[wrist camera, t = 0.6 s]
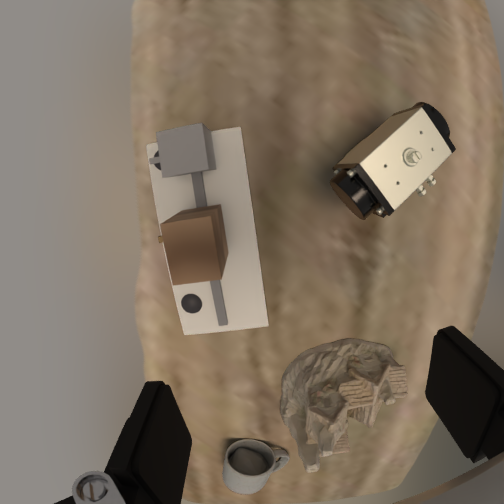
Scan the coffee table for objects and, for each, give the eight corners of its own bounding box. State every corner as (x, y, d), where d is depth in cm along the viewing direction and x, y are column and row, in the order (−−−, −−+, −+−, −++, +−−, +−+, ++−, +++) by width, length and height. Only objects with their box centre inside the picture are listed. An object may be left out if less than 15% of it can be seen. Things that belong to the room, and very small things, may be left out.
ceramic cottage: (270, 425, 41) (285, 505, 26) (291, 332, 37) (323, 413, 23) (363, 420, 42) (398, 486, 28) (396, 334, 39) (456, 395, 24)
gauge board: (149, 145, 31) (124, 140, 24) (240, 128, 30) (238, 116, 23) (186, 330, 36) (173, 363, 29) (268, 321, 36) (271, 354, 29)
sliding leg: (156, 214, 31) (127, 229, 23) (220, 204, 30) (210, 216, 23) (165, 261, 32) (141, 289, 24) (228, 252, 32) (221, 279, 24)
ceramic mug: (222, 463, 44) (220, 497, 36) (226, 436, 42) (224, 473, 34) (282, 466, 44) (287, 500, 37) (293, 439, 42) (299, 476, 35)
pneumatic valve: (311, 176, 32) (344, 181, 20) (384, 112, 30) (442, 92, 18) (343, 215, 33) (388, 239, 21) (412, 150, 31) (477, 148, 19)
